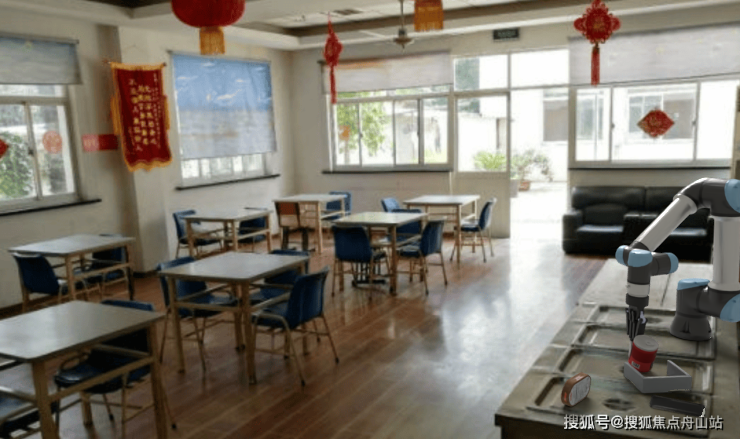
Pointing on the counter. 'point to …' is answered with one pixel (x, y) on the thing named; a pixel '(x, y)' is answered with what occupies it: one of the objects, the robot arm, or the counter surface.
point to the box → (659, 379)
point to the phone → (676, 405)
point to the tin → (576, 389)
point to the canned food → (643, 353)
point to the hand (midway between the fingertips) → (633, 356)
